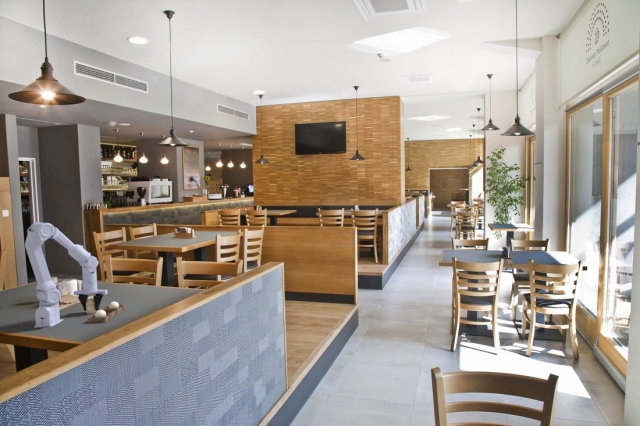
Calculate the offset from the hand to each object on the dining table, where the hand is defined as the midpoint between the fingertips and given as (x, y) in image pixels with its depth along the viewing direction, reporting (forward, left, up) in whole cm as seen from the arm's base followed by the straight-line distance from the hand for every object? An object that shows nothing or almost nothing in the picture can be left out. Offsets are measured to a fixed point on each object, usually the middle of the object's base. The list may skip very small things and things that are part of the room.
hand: (91, 310), depth 206 cm
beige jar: (0, 0, -2) cm, 2 cm away
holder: (-6, -10, -2) cm, 12 cm away
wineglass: (+26, +33, -2) cm, 42 cm away
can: (+22, +21, -2) cm, 30 cm away
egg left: (-13, -10, -1) cm, 16 cm away
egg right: (+1, -10, -1) cm, 10 cm away
